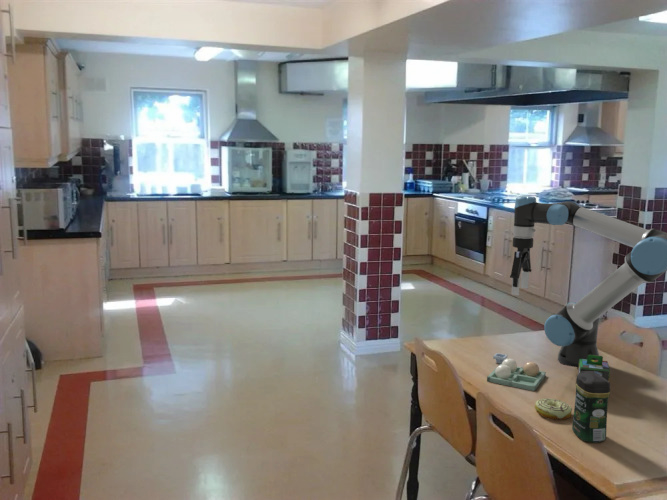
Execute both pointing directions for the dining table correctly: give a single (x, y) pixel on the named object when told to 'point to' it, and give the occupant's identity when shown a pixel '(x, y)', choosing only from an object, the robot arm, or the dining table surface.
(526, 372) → the brown egg
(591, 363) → the chalk box
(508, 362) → the cream egg
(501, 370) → the cream egg
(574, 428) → the coffee jar
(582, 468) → the dining table surface
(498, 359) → the egg cup
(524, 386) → the carton
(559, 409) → the decorated donut
